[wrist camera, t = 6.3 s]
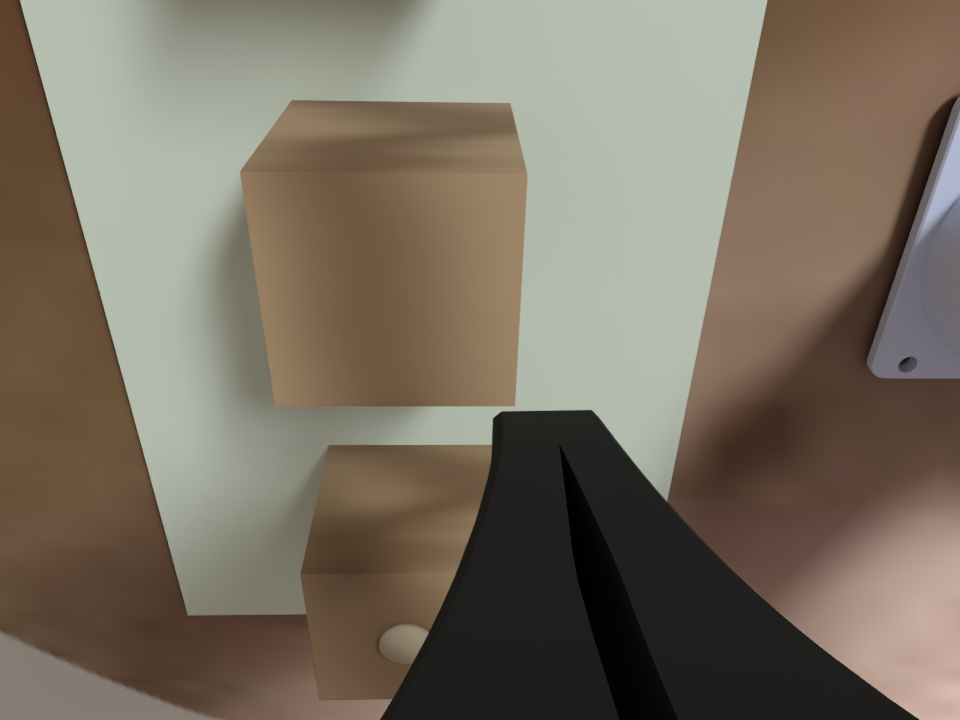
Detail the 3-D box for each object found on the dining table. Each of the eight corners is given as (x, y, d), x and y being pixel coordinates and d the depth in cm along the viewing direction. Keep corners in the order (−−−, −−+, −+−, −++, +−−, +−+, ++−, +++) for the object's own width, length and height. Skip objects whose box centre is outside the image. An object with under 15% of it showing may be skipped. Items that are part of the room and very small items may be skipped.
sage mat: (906, -748, 12) (920, -767, 11) (642, 602, 28) (645, 611, 27) (-186, -805, 11) (-206, -827, 11) (191, 606, 27) (187, 615, 27)
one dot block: (496, 444, 23) (506, 578, 19) (491, 562, 26) (499, 704, 21) (322, 445, 23) (290, 581, 18) (335, 563, 26) (310, 706, 21)
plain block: (510, 103, 18) (527, 174, 13) (502, 296, 20) (515, 406, 16) (291, 100, 18) (239, 171, 13) (312, 295, 20) (275, 406, 16)
